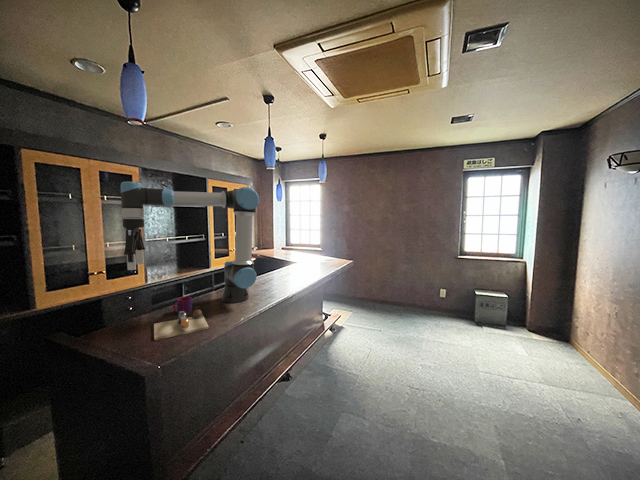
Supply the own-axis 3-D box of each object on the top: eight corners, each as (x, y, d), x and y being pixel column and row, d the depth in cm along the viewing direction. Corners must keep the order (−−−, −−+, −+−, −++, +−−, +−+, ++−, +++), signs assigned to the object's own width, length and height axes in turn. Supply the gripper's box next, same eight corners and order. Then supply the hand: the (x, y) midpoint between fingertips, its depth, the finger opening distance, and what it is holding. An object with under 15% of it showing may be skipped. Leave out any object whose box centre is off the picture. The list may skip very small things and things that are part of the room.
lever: (185, 316, 120) (185, 308, 120) (189, 329, 107) (189, 320, 107) (177, 318, 119) (177, 309, 118) (181, 330, 105) (180, 321, 105)
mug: (195, 310, 133) (194, 297, 132) (178, 317, 124) (177, 303, 123) (185, 308, 136) (185, 296, 135) (168, 315, 126) (167, 301, 126)
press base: (202, 316, 125) (202, 307, 124) (208, 328, 111) (208, 318, 111) (154, 325, 114) (153, 315, 113) (154, 340, 100) (153, 329, 100)
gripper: (130, 218, 120) (133, 262, 122) (112, 218, 97) (116, 273, 99) (149, 218, 123) (152, 261, 125) (136, 218, 100) (139, 271, 102)
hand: (136, 266), depth 112 cm, fingers open, 13 cm apart
